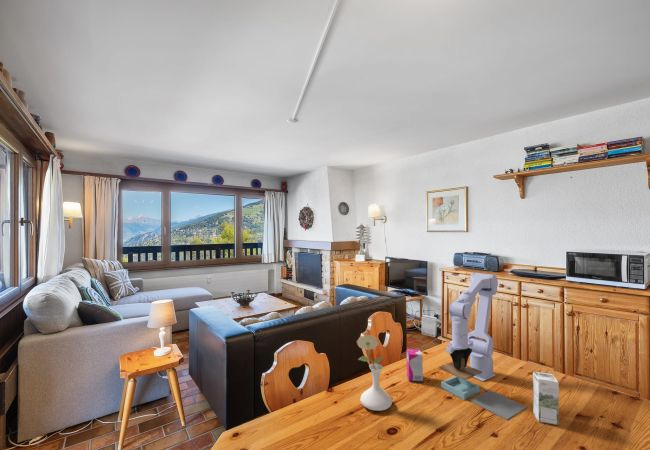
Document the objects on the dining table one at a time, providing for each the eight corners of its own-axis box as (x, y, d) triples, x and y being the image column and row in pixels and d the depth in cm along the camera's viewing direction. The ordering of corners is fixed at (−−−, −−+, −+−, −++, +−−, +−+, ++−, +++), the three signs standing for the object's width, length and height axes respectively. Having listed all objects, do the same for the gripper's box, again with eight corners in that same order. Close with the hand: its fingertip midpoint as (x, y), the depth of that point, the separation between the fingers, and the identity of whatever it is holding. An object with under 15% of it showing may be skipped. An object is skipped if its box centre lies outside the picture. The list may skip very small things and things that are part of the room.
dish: (456, 381, 125) (456, 375, 125) (479, 392, 117) (479, 386, 117) (441, 388, 120) (441, 382, 120) (464, 400, 112) (464, 393, 112)
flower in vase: (395, 400, 112) (394, 332, 112) (388, 417, 101) (387, 343, 102) (361, 392, 117) (361, 328, 118) (351, 408, 107) (351, 337, 107)
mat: (490, 391, 118) (490, 390, 118) (526, 407, 107) (526, 406, 107) (470, 401, 111) (470, 400, 111) (507, 420, 100) (507, 419, 100)
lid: (456, 362, 126) (456, 351, 126) (481, 373, 117) (481, 361, 117) (439, 368, 120) (439, 356, 120) (464, 380, 111) (464, 367, 111)
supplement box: (420, 375, 131) (419, 349, 131) (423, 382, 125) (423, 354, 125) (406, 375, 131) (406, 348, 131) (408, 381, 125) (408, 354, 125)
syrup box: (552, 415, 102) (551, 373, 103) (559, 426, 97) (559, 381, 97) (532, 412, 104) (532, 370, 104) (538, 422, 99) (538, 378, 99)
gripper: (461, 326, 126) (462, 359, 126) (439, 333, 118) (439, 367, 118) (478, 331, 120) (478, 365, 120) (455, 338, 112) (455, 375, 112)
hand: (460, 367), depth 119 cm, fingers closed on lid, 3 cm apart
